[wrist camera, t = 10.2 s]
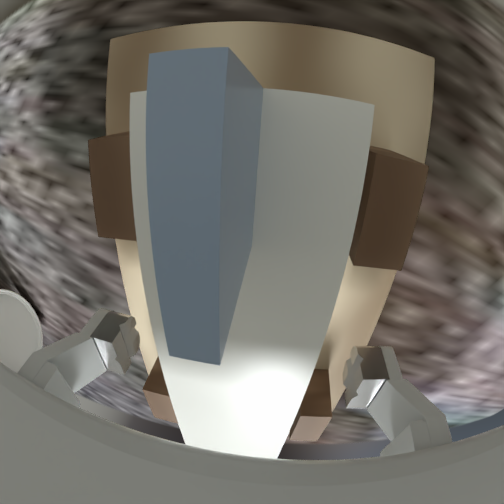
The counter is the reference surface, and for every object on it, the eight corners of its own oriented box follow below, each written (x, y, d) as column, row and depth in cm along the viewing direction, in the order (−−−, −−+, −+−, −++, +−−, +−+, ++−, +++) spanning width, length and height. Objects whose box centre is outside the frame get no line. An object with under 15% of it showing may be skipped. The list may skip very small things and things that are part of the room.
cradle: (423, 61, 7) (481, 46, 4) (322, 416, 17) (323, 462, 14) (123, 42, 8) (60, 26, 5) (163, 394, 18) (146, 436, 15)
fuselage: (333, 109, 8) (478, 102, 1) (273, 419, 17) (262, 518, 10) (198, 99, 8) (5, 98, 2) (208, 410, 17) (184, 505, 10)
